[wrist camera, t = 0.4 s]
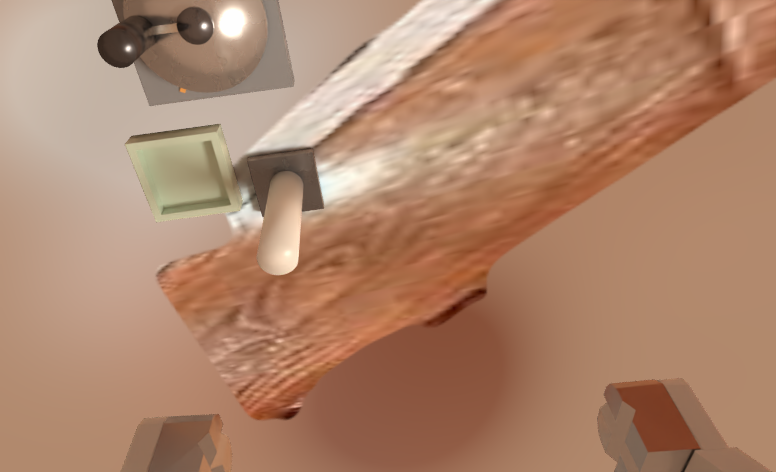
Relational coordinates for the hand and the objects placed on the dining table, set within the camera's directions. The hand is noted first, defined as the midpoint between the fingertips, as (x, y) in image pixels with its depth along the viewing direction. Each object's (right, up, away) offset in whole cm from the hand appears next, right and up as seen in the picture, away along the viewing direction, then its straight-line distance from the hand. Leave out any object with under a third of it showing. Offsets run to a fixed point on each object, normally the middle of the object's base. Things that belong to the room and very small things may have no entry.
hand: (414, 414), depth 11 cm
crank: (-18, +23, +37) cm, 47 cm away
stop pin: (-12, +9, +48) cm, 50 cm away
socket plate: (-12, +10, +49) cm, 51 cm away
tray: (-22, +11, +47) cm, 53 cm away
